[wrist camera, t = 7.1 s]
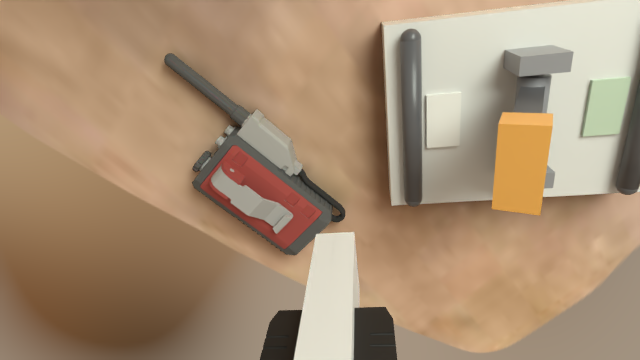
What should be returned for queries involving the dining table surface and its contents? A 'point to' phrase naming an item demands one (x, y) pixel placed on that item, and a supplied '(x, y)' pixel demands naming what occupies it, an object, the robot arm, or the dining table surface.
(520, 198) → the lever
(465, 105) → the panel
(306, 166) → the dining table surface
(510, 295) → the dining table surface
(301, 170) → the walkie-talkie
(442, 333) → the dining table surface
